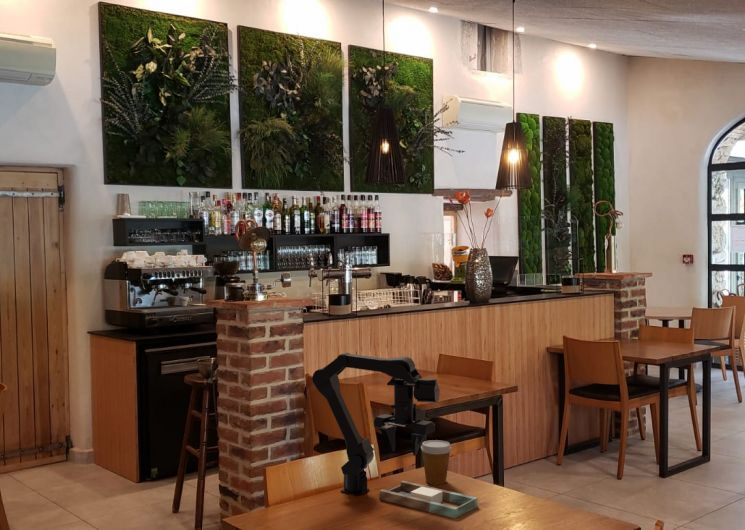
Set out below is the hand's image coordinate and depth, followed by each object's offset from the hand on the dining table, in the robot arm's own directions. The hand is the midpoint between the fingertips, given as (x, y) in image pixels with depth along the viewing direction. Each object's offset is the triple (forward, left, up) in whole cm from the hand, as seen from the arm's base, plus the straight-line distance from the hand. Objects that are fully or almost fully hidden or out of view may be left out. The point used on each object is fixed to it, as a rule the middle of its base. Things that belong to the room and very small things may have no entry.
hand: (404, 453), depth 240 cm
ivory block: (+8, 0, -13) cm, 16 cm away
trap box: (+8, 0, -13) cm, 16 cm away
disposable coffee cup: (-1, +18, -13) cm, 22 cm away
